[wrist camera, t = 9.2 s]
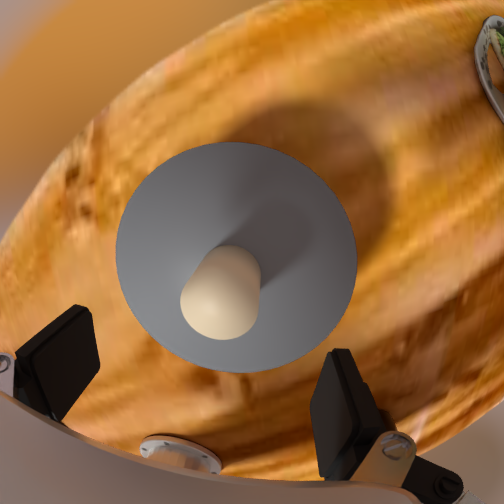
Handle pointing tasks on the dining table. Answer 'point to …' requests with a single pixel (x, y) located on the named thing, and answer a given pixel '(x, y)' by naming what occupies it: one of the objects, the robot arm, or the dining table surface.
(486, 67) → the salad plate
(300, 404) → the dining table surface
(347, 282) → the lid
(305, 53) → the dining table surface
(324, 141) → the dining table surface
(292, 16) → the dining table surface
